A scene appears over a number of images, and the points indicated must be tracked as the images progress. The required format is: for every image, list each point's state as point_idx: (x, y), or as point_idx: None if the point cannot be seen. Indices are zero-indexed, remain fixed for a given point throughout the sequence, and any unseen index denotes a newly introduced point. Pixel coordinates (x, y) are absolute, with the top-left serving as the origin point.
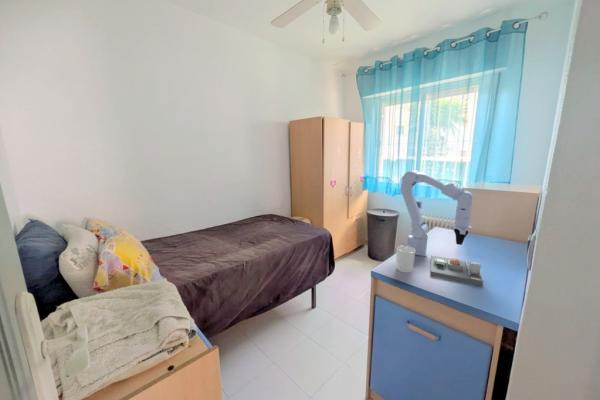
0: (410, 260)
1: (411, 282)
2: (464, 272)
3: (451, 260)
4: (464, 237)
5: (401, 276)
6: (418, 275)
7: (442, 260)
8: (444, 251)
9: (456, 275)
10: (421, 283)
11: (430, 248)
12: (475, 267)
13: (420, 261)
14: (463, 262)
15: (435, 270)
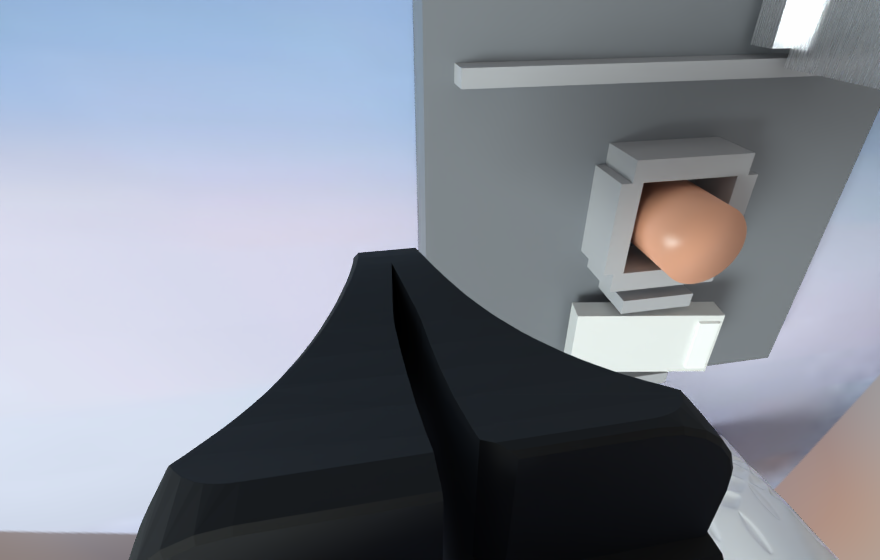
0: (800, 518)
1: (840, 399)
2: (762, 108)
3: (703, 273)
4: (528, 342)
5: (773, 450)
6: (749, 389)
7: (630, 329)
8: (65, 290)
9: (828, 183)
10: (851, 358)
11: (95, 417)
12: None
13: None
14: (478, 100)
15: (750, 333)
